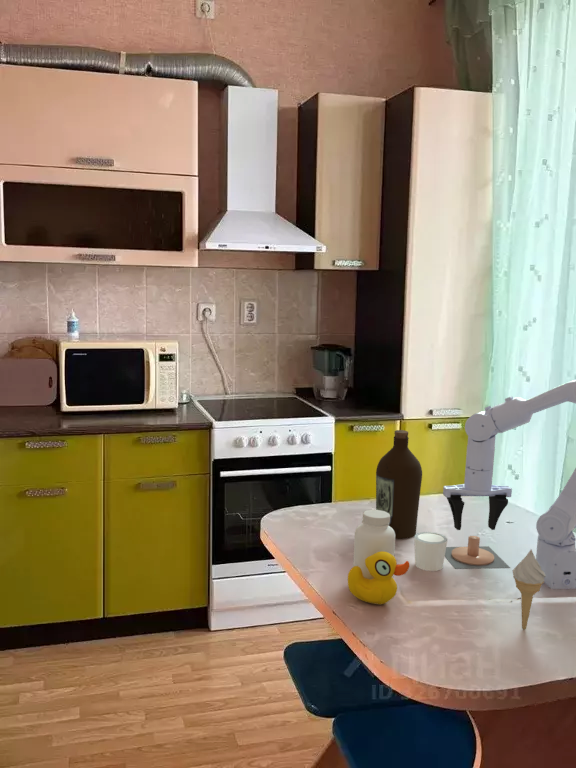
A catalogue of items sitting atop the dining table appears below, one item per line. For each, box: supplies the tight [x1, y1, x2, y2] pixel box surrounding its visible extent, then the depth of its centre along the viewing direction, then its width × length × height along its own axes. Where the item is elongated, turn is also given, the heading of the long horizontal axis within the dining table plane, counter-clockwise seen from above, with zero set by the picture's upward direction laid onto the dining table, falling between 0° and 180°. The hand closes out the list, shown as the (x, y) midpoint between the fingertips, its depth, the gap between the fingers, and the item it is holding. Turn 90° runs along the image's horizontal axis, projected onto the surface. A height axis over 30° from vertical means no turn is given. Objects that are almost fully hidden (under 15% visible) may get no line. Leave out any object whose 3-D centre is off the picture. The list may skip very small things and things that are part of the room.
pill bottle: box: [352, 509, 396, 579], centre depth 148 cm, size 8×8×15 cm
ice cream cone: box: [512, 548, 546, 631], centre depth 132 cm, size 6×6×15 cm
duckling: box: [347, 551, 410, 605], centre depth 141 cm, size 11×5×10 cm, turn 75°
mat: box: [444, 545, 511, 570], centre depth 164 cm, size 12×12×1 cm
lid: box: [452, 535, 494, 565], centre depth 163 cm, size 9×9×4 cm
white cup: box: [413, 531, 448, 572], centre depth 158 cm, size 7×7×7 cm
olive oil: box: [375, 429, 423, 540], centre depth 176 cm, size 11×11×25 cm
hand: (474, 528), depth 162 cm, fingers open, 7 cm apart
